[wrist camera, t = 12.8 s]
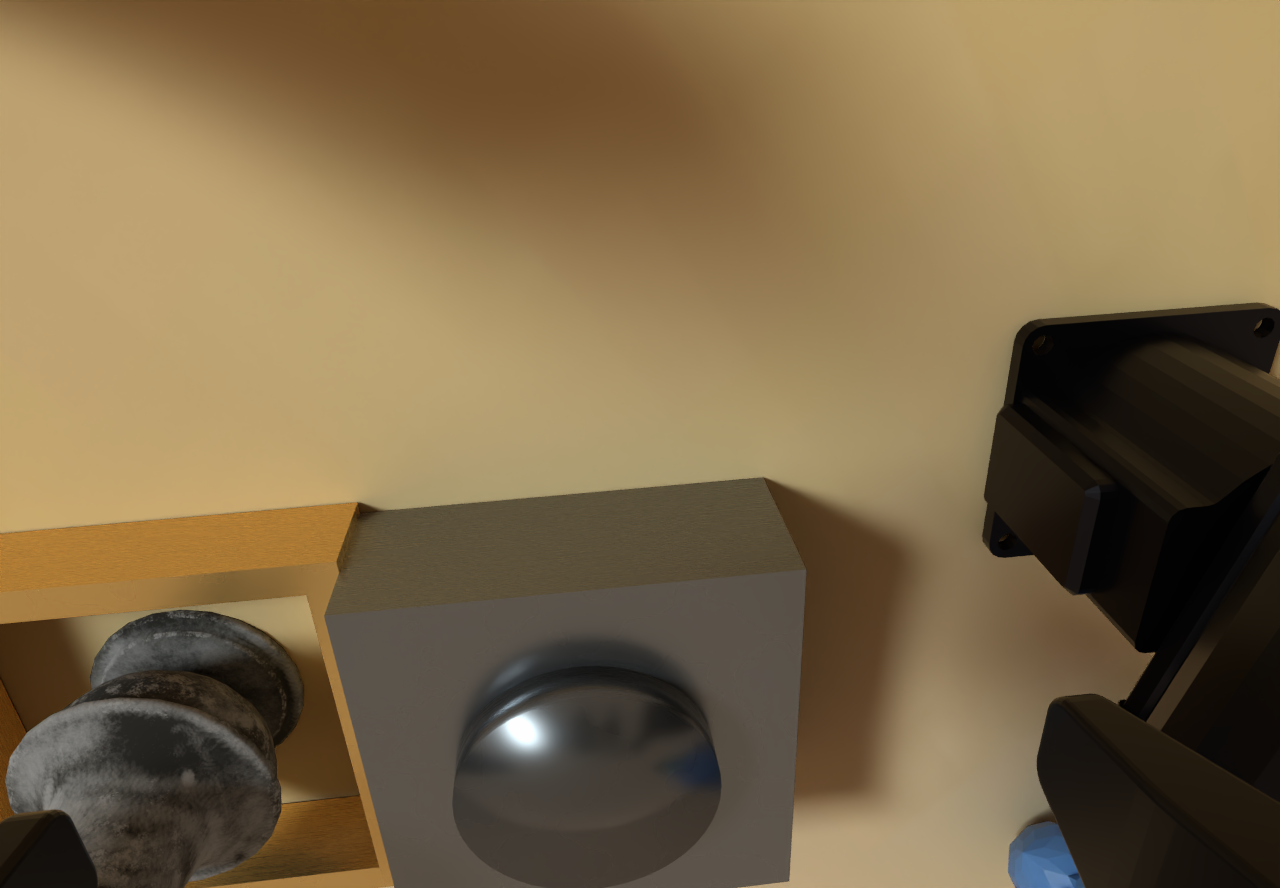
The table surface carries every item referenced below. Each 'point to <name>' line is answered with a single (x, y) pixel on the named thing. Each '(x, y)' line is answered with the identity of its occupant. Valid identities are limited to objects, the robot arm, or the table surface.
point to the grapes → (1042, 859)
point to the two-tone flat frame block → (500, 678)
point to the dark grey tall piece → (167, 750)
